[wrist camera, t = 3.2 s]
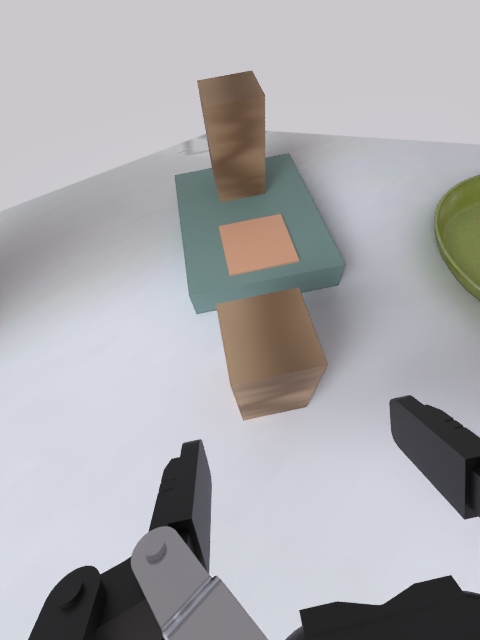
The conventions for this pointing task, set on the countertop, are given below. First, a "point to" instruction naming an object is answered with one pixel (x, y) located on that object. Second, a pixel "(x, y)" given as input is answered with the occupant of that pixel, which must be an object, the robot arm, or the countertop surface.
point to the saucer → (461, 232)
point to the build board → (254, 238)
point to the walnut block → (270, 352)
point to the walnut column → (235, 133)
